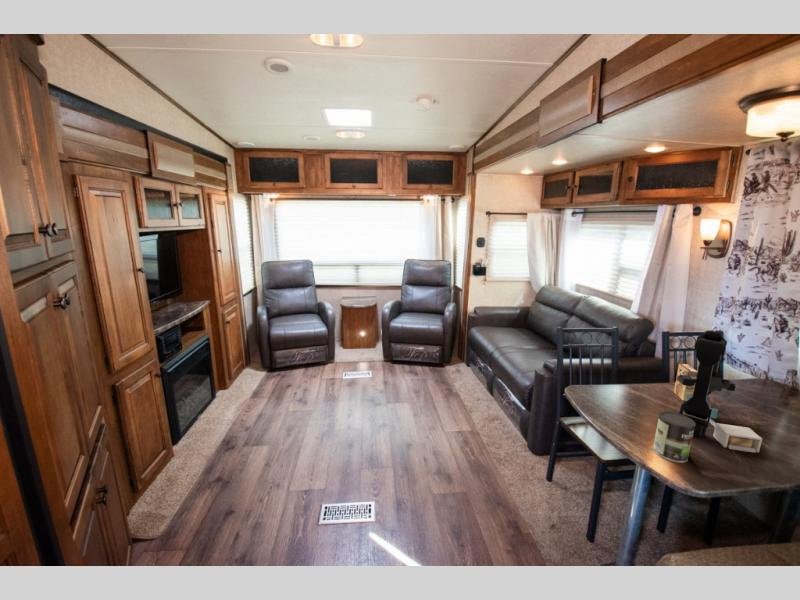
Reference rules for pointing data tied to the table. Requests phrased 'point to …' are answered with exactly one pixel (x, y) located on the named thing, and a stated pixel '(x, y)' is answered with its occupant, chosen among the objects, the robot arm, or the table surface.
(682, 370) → the candy box
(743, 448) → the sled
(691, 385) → the robot arm
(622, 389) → the table surface
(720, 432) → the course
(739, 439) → the block
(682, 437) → the coffee can
